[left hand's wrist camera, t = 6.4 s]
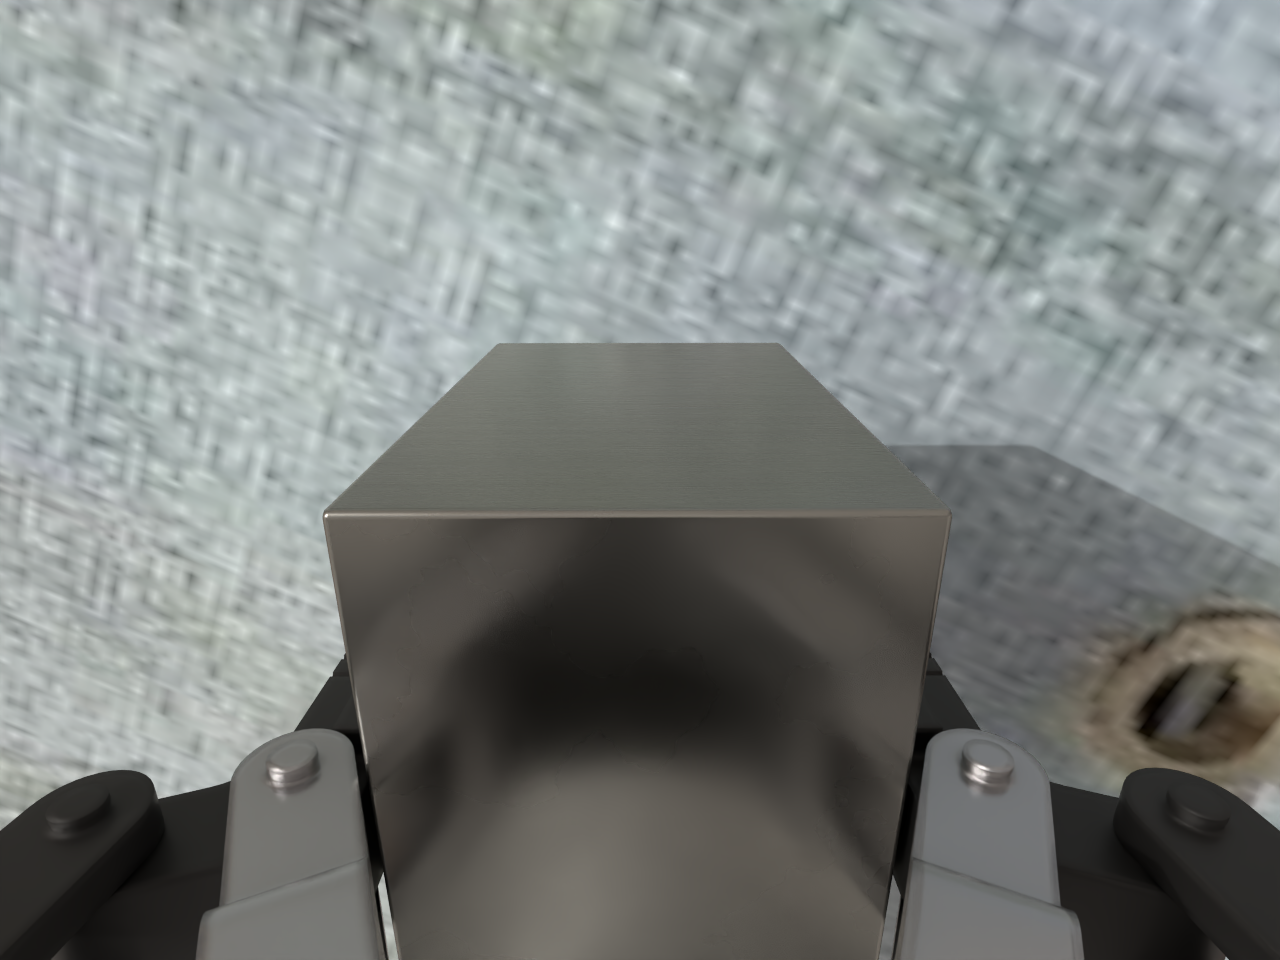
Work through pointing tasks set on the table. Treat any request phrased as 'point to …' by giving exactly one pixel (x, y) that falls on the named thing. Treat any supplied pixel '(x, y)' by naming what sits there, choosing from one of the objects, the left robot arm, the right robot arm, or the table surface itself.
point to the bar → (637, 657)
